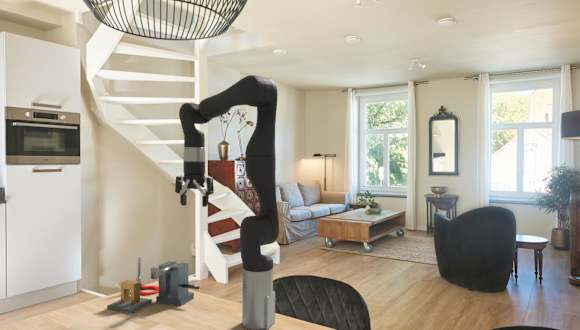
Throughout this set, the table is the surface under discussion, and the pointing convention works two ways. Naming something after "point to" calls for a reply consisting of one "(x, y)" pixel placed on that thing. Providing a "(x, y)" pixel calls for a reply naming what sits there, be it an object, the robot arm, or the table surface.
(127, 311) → the rubber mat
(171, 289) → the vise
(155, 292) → the tow hook
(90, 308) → the table surface
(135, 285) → the ochre slotted block
